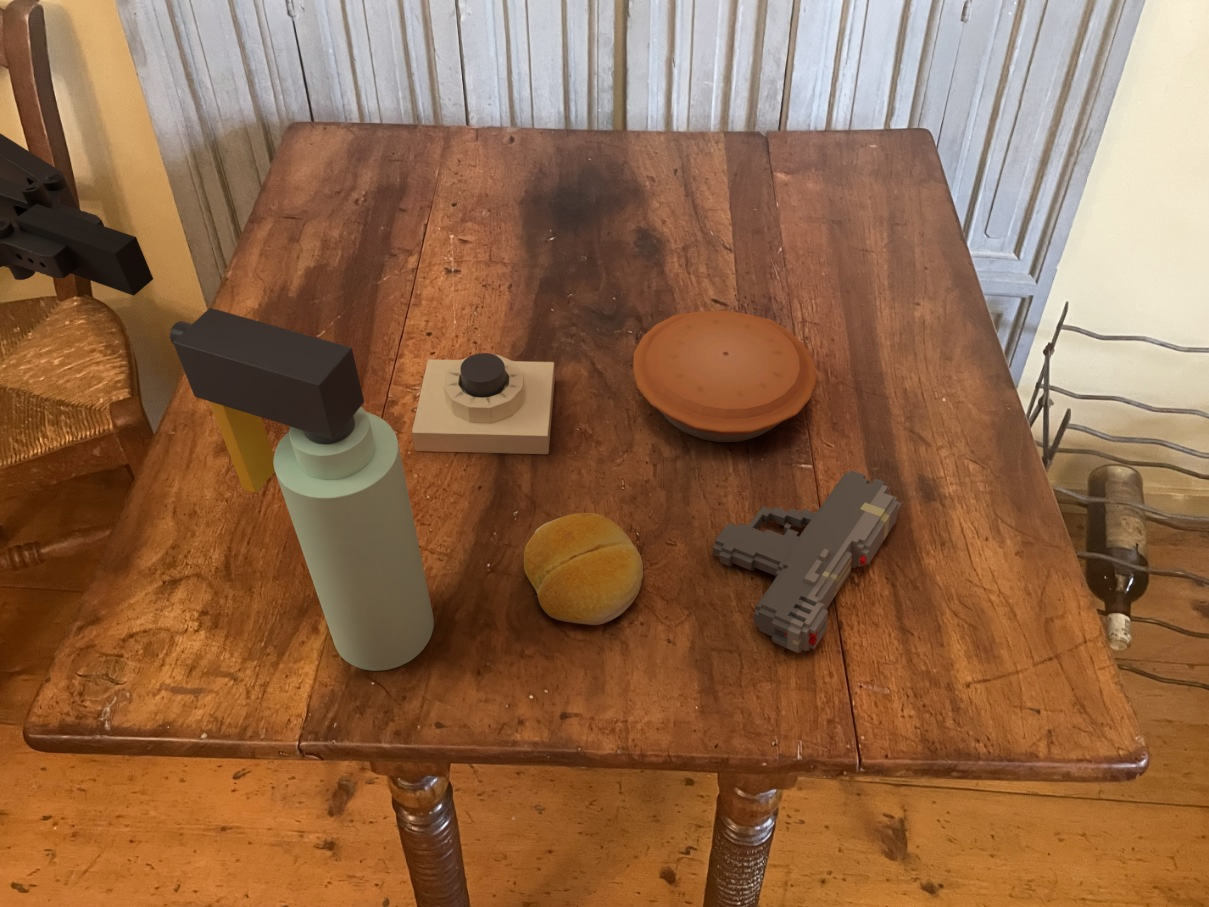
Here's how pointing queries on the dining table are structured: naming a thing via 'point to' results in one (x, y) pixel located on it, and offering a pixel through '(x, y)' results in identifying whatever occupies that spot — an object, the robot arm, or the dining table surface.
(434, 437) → the timer
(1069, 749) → the dining table surface
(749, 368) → the pie
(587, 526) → the bread roll
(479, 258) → the dining table surface
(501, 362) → the timer button
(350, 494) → the spray bottle
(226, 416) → the strip
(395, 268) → the dining table surface
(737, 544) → the toy gun
